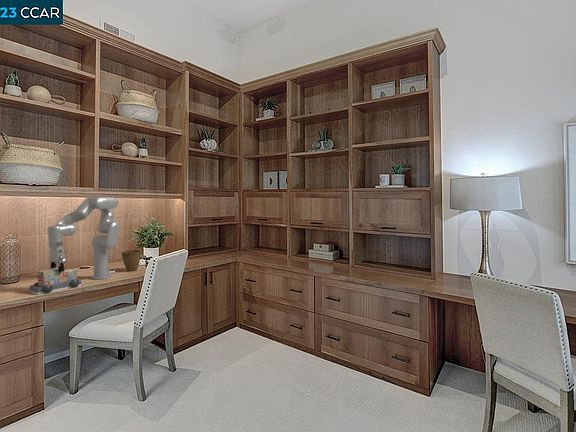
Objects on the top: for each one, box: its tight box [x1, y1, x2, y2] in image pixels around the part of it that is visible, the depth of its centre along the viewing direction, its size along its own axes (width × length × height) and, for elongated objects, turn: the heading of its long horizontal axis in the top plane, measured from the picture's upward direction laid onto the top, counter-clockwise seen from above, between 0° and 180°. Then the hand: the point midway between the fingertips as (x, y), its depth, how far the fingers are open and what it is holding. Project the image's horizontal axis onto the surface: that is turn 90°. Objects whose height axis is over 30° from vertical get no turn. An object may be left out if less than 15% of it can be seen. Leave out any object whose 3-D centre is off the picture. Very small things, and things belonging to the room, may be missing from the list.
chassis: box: [29, 278, 82, 295], centre depth 220 cm, size 26×13×5 cm, turn 150°
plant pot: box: [121, 249, 142, 272], centre depth 278 cm, size 15×15×16 cm
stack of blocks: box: [37, 266, 78, 287], centre depth 221 cm, size 21×6×12 cm, turn 157°
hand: (57, 270), depth 221 cm, fingers open, 9 cm apart
